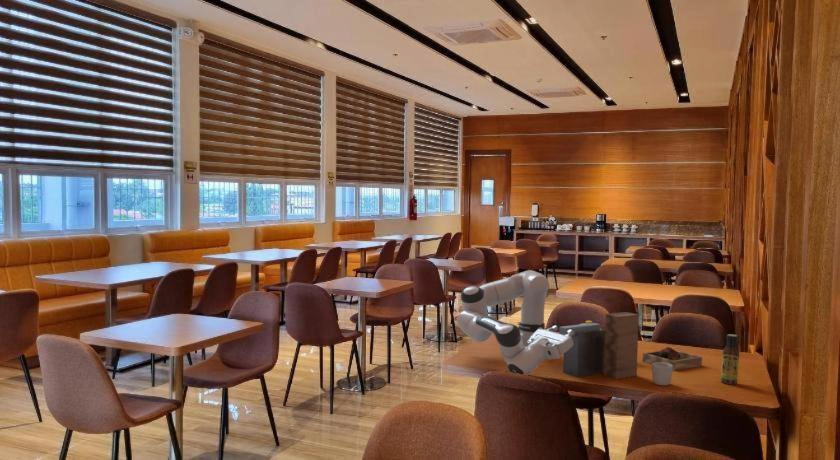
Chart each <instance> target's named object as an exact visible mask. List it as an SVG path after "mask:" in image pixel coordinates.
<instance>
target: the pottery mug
mask: <svg viewBox="0 0 840 460" xmlns="http://www.w3.org/2000/svg"><path fill="white" fill-rule="evenodd" d="M675 350H676V349H673V348H672V347H670V346H666V347H665V348H663V349H661V350H659V351H660V352H659V354H658V356H657V357H661V358H665V359H667V358H668V357H669V353H670V355H672V356H674V357H676V358H677V360H680V356H681V355H680V354H679V353H678V352H676V351H677V350H676V351H675ZM668 359H669V358H668Z"/></svg>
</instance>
